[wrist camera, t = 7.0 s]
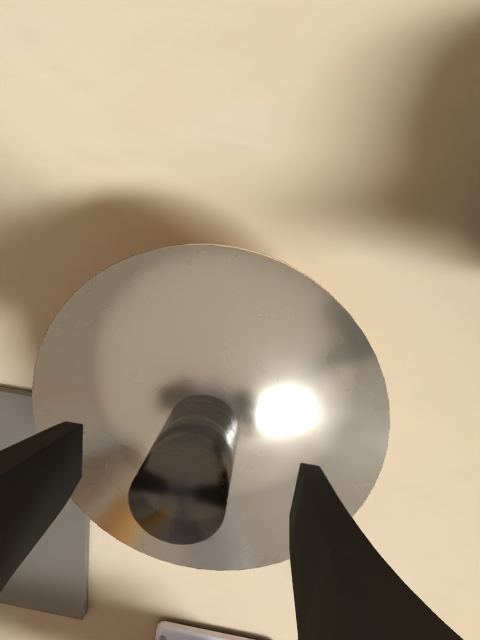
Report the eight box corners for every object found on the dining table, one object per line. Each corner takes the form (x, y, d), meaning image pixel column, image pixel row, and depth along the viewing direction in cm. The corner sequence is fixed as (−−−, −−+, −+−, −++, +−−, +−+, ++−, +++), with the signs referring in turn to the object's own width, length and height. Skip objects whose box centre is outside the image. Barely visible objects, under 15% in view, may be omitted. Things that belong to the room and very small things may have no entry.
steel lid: (332, 584, 16) (355, 726, 12) (38, 515, 17) (-52, 624, 12) (433, 285, 13) (526, 320, 8) (52, 209, 13) (-68, 200, 8)
